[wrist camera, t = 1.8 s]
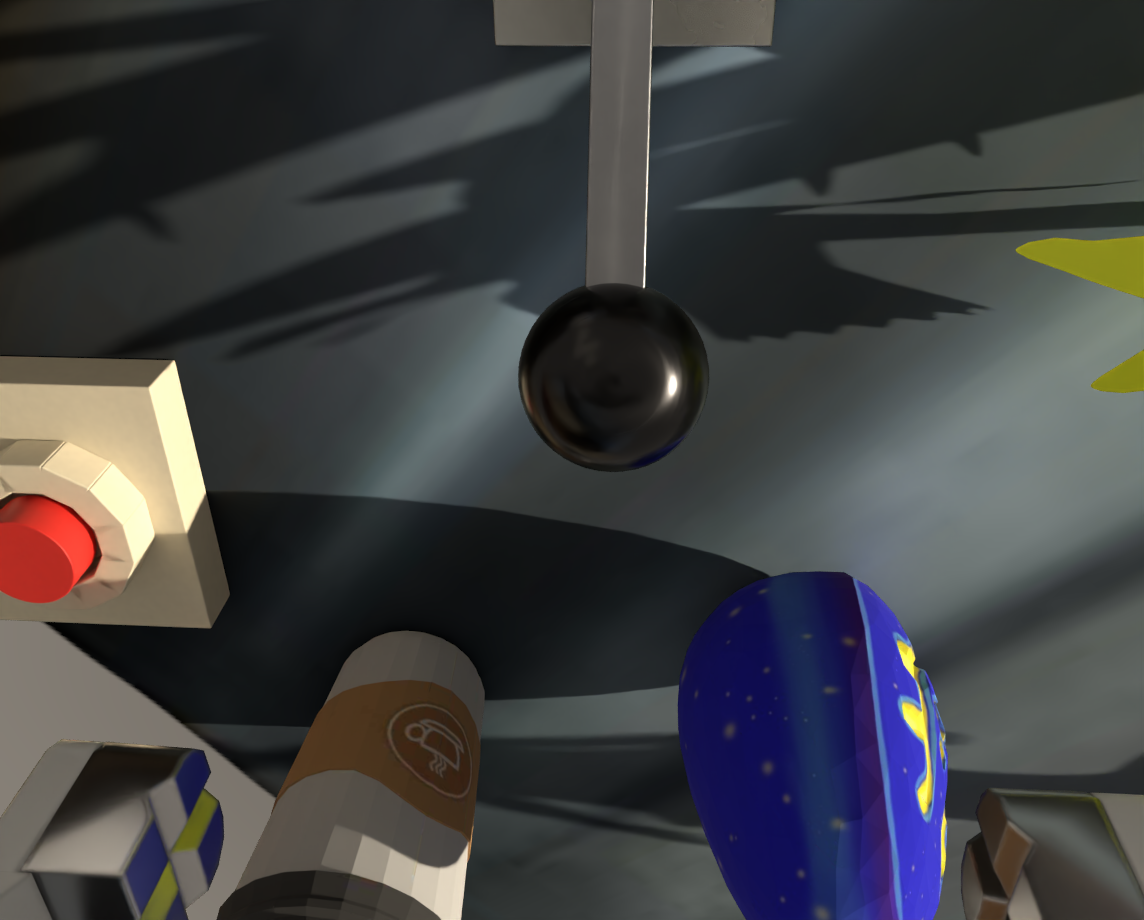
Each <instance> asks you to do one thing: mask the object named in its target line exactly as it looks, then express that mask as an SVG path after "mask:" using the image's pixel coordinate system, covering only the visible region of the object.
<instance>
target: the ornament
mask: <svg viewBox="0 0 1144 920" xmlns="http://www.w3.org/2000/svg"><path fill="white" fill-rule="evenodd" d="M914 660H915V656H914V652H913V647H912V645H911V643H910V641H909V639H908V637H907V635H906V633H905V632H904V630H903V628H902V627H901V625H900V623H899V621H898V620H897V618H896V616H895V615H894V613H893V612H892V611H891V610H890V609H889V608H888V607H887V605H886V604H885V603H884V602H883V601H882V600H881V599H880V598H879V597H878V596H877V595H876V594H875V592H874V591H873V590H872V589H870V588H869V587H868V586H867V585H865V584H864V583H862V582H860V581H858V580H856V579H855V578H853V577H851V576H849V575H848V574H846V573H844V572H793V573H787V574H783V575H778V576H774V577H770V578H766V579H762V580H758V581H756V582H754V583H752V584H750V585H748V586H746V587H744V588H742V589H740V590H738V591H736V592H735V593H734V594H732V595H731V596H729V597H728V598H727V599H725V600H724V601H723V602H721V603H720V605H719V606H718V607H717V608H716V609H715V610H714V611H713V612H712V614H711V615H710V616H709V617H708V618H707V619H706V621H705V622H704V623H703V625H702V626H701V627H700V628H699V630H698V631H697V632H696V634H695V636H694V638H693V640H692V642H691V644H690V646H689V648H688V650H687V653H686V656H685V660H684V663H683V667H682V670H681V674H680V681H679V695H678V730H679V739H680V747H681V752H682V756H683V760H684V765H685V769H686V774H687V778H688V782H689V787H690V791H691V795H692V798H693V801H694V803H695V806H696V809H697V812H698V815H699V818H700V821H701V824H702V826H703V829H704V832H705V835H706V837H707V840H708V842H709V845H710V847H711V849H712V852H713V854H714V856H715V859H716V861H717V864H718V866H719V868H720V871H721V873H722V875H723V878H724V880H725V883H726V885H727V887H728V889H729V891H730V892H731V894H732V896H733V898H734V900H735V901H736V903H737V905H738V907H739V908H740V910H741V912H742V914H743V915H744V917H745V918H746V920H933V918H934V915H935V913H936V910H937V908H938V905H939V899H940V893H941V887H942V880H943V874H944V868H945V860H946V838H947V822H946V819H945V798H946V790H947V761H948V755H947V752H946V749H945V736H946V732H945V729H944V726H943V724H942V721H941V718H940V715H939V712H938V710H937V707H936V703H938V702H937V699H936V696H935V693H934V690H933V687H932V684H931V682H930V680H929V678H928V676H927V673H926V671H925V670H923V669H920V668H917V667H915V666H914V665H913V662H914Z"/></svg>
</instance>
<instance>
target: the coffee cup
mask: <svg viewBox="0 0 1144 920" xmlns="http://www.w3.org/2000/svg"><path fill="white" fill-rule="evenodd" d="M484 697H485V691H484V688H483V685H482V682H481V678H480V677H479V675H478V673H477V670H476V668H475V667H474V665H473V664H472V662H471V661H470V659H469V658H468V656H466V655H465V654H464V653H463V652H462V651H461V650H460V649H459V648H457V647H456V646H455V645H453V644H451V643H449V642H447V641H446V640H444V639H442V638H440V637H436V636H433V635H430V634H427V633H423V632H414V631H398V632H389V633H386V634H383V635H380V636H377V637H374V638H373V639H371V640H370V641H368V642H367V643H365V644H364V645H362V646H361V647H359V648H358V649H356V650H355V651H353V652H352V654H351V655H350V656H349V658H348V659H347V660H346V661H345V663H344V664H343V667H342V669H341V671H340V673H339V675H338V677H337V679H336V681H335V683H334V685H333V687H332V689H331V692H330V694H329V696H328V698H327V700H326V702H325V704H324V706H323V708H322V709H321V710H320V711H319V712H318V714H317V716H316V718H315V720H314V722H313V724H312V726H311V728H310V730H309V732H308V734H307V736H306V738H305V740H304V743H303V745H302V747H301V749H300V751H299V753H298V755H297V757H296V759H295V761H294V763H293V765H292V767H291V769H290V771H289V773H288V775H287V778H286V780H285V782H284V784H283V786H282V788H281V790H280V792H279V794H278V796H277V798H276V800H275V803H274V807H273V810H272V813H271V816H270V819H269V821H268V823H267V825H266V827H265V829H264V831H263V833H262V835H261V837H260V839H259V842H258V844H257V846H256V848H255V850H254V852H253V854H252V856H251V858H250V860H249V862H248V864H247V867H246V869H245V871H244V873H243V875H242V877H241V879H240V881H239V883H238V885H237V888H236V889H235V891H234V892H233V893H232V894H231V896H230V897H229V898H228V899H227V900H226V901H225V902H224V904H223V905H222V906H221V907H220V909H219V913H218V917H217V920H461V913H462V904H463V895H464V886H465V876H466V867H467V861H468V859H469V857H470V850H471V840H472V831H473V821H474V812H475V802H476V793H477V783H478V774H479V764H480V748H481V745H480V739H481V729H482V720H483V711H484Z"/></svg>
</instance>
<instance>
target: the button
mask: <svg viewBox="0 0 1144 920" xmlns="http://www.w3.org/2000/svg"><path fill="white" fill-rule="evenodd" d="M96 550H97V544H96V539H95V535H94V533H93V531H92V529H91V527H90V526H89V525H88V524H87V523H86V522H85V521H84V520H83V519H82V518H81V516H80V515H79V514H78V513H77V512H76V511H75V510H74V509H73V508H71V507H69V506H67V505H65V504H62V503H60V502H58V501H56V500H54V499H51V498H49V497H45V496H40V495H26V496H21V497H17V498H15V499H13V500H11V501H9V502H8V503H7V504H6V505H5V506H4V507H3V508H2V509H1V510H0V591H2V592H3V593H5V594H7V595H9V596H11V597H13V598H16V599H18V600H22V601H26V602H31V603H49V602H53V601H56V600H59V599H61V598H62V597H64V596H66V595H67V594H68V593H69V592H70V590H71V589H72V588H73V586H74V585H75V584H76V583H77V581H78V580H79V579H80V577H81V576H82V575H83V574H84V572H85V571H86V570H87V568H88V567H89V566H90V565H91V563H92V562H93V560H94V558H95V556H96Z"/></svg>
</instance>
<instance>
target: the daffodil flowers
mask: <svg viewBox="0 0 1144 920" xmlns="http://www.w3.org/2000/svg"><path fill="white" fill-rule="evenodd" d="M1016 251H1017V253H1019V254H1021V255H1023V256H1025V257H1027V258H1028V259H1031V260H1034V261H1037V262H1040V263H1043V264H1045V265H1048V266H1051V267H1054V268H1057V269H1060V270H1062V271H1065V272H1068V273H1070V274H1073V275H1076V276H1079V277H1081V278H1084V279H1087V280H1089V281H1092V282H1095V283H1098V284H1101V285H1104V286H1107V287H1110V288H1113V289H1116V290H1119V291H1122V292H1125V293H1129V294H1132V295H1135V296H1138V297H1141V298H1144V236H1139V237H1129V238H1119V239H1109V240H1099V241H1088V240H1076V239H1064V238H1051V239H1045V240H1040V241H1034V242H1029V243H1027V244H1024V245H1022V246H1020V247H1018V248H1017V249H1016ZM1091 387H1092V388H1094V389H1097V390H1100V391H1106V392H1118V393H1127V392H1136V391H1144V350H1142V351H1141V352H1139V353H1138V354H1136V355H1134V356H1133V357H1131V358H1130V359H1128V360H1126V361H1125V362H1123V363H1122V364H1120V365H1118V366H1117V367H1115V368H1113V369H1112V370H1110V371H1109V372H1107V373H1105V374H1104V375H1102V376H1101V377H1099V378H1098V379H1097V380H1096V381H1094V382H1093V383H1092V384H1091Z"/></svg>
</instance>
